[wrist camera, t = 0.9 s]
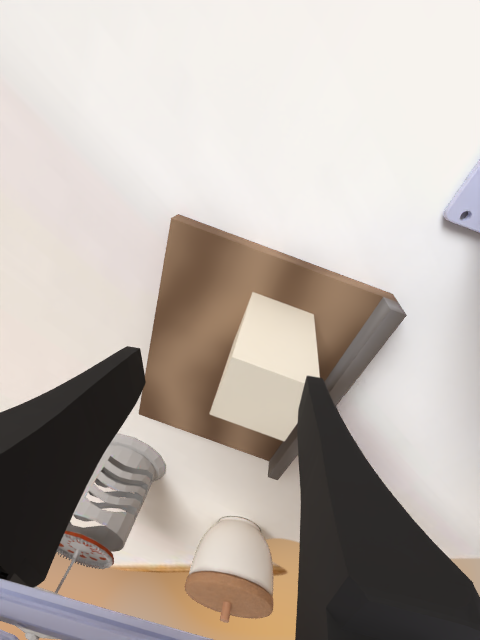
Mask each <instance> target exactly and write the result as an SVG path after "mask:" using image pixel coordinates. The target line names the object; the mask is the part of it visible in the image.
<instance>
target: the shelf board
mask: <svg viewBox="0 0 480 640" xmlns="http://www.w3.org/2000/svg"><path fill="white" fill-rule="evenodd" d="M252 292H254V293H257V294H260V295H263V296H265V297H268V298H271V299H273V300H276V301H279V302H281V303H284V304H287V305H290V306H292V307H295V308H298V309H300V310H303V311H306V312H309V313H311V314H314V321H315V332H316V342H317V353H318V363H319V374H320V378H322V379H323V380H324V382H325V384H326V387H327V389H328V391H329V394H330V396H331V398H332V400H333V402H334V404H335V406H336V405H337V404H338V402H339V401H340V400H341V399H342V397H343V396H344V395H345V394H346V393H347V391H348V390H349V389H350V387H351V386H352V385H353V384H354V382H355V381H356V380H357V379H358V377H359V376H360V375H361V373H362V372H363V371H364V370H365V368H366V367H367V365H368V364H369V363H370V361H371V360H372V359H373V358H374V356H375V355H376V354H377V353H378V351H379V350H380V349H381V347H382V346H383V345H384V344H385V342H386V341H387V340H388V338H389V337H390V336H391V335H392V333H393V332H394V331H395V330H396V328H397V327H398V326H399V324H400V323H401V322H402V321H403V319H404V318H405V317H406V314H405V312H404V311H403V309H402V308H401V306H400V304H399V303H398V301H397V300H396V298H395V297H394V295H393V294H391V293H388V292H386V291H383V290H380V289H378V288H375V287H372V286H370V285H367V284H364V283H362V282H359V281H356V280H354V279H351V278H348V277H345V276H343V275H340V274H337V273H335V272H332V271H329V270H327V269H324V268H321V267H319V266H316V265H313V264H311V263H308V262H305V261H302V260H300V259H297V258H294V257H292V256H289V255H286V254H284V253H281V252H278V251H276V250H273V249H270V248H268V247H265V246H262V245H260V244H257V243H254V242H251V241H249V240H246V239H243V238H241V237H238V236H235V235H233V234H230V233H227V232H225V231H222V230H219V229H217V228H214V227H211V226H209V225H206V224H203V223H200V222H198V221H195V220H192V219H190V218H187V217H184V216H182V215H179V214H178V215H176V216H174V217H172V218H171V223H170V229H169V235H168V241H167V247H166V253H165V259H164V265H163V271H162V277H161V283H160V289H159V295H158V301H157V307H156V313H155V319H154V325H153V331H152V337H151V343H150V349H149V355H148V361H147V367H146V373H145V381H146V383H145V386H144V388H143V391H142V397H141V403H140V409H139V414H140V415H143V416H145V417H148V418H151V419H154V420H156V421H159V422H162V423H165V424H168V425H170V426H173V427H176V428H179V429H181V430H184V431H187V432H190V433H193V434H195V435H198V436H201V437H204V438H206V439H209V440H212V441H215V442H218V443H220V444H223V445H226V446H229V447H231V448H234V449H237V450H240V451H242V452H245V453H248V454H251V455H254V456H256V457H259V458H262V459H265V460H267V461H269V470H268V477H270V478H273V479H276V480H278V479H279V478H280V476H281V475H282V474H283V473H284V471H285V470H286V469H287V468H288V466H289V465H290V464H291V462H292V461H293V460H294V459H295V457H296V456H297V455H298V440H297V425H298V423H297V424H296V426H295V427H294V429H293V430H292V432H291V433H290V434H289V436H288V437H287V439H286V440H285V441H282V440H279V439H276V438H273V437H271V436H268V435H265V434H262V433H260V432H257V431H254V430H251V429H249V428H246V427H243V426H240V425H238V424H235V423H232V422H229V421H226V420H224V419H221V418H218V417H215V416H213V415H210V411H211V408H212V405H213V402H214V399H215V396H216V393H217V390H218V387H219V384H220V381H221V378H222V375H223V372H224V369H225V366H226V363H227V360H228V357H229V354H230V351H231V348H232V345H233V342H234V339H235V337H236V334H237V332H238V329H239V326H240V324H241V321H242V318H243V316H244V313H245V311H246V308H247V305H248V303H249V300H250V298H251V295H252Z"/></svg>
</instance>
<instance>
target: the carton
mask: <svg viewBox="0 0 480 640" xmlns="http://www.w3.org/2000/svg"><path fill="white" fill-rule="evenodd" d="M306 376H313V377H319V378H320V374H319V363H318V353H317V342H316V332H315V321H314V314H311V313H309V312H306V311H303V310H300V309H298V308H295V307H292V306H290V305H287V304H284V303H281V302H279V301H276V300H273V299H271V298H268V297H265V296H263V295H260V294H257V293H254V292H252V295H251V298H250V300H249V303H248V305H247V308H246V311H245V313H244V316H243V318H242V321H241V324H240V326H239V329H238V332H237V334H236V337H235V339H234V342H233V345H232V348H231V351H230V354H229V357H228V360H227V363H226V366H225V369H224V372H223V375H222V378H221V381H220V384H219V387H218V390H217V393H216V396H215V399H214V402H213V405H212V408H211V411H210V415H213V416H215V417H218V418H221V419H224V420H226V421H229V422H232V423H235V424H238V425H240V426H243V427H246V428H249V429H251V430H254V431H257V432H260V433H262V434H265V435H268V436H271V437H273V438H276V439H279V440H282V441H285V440H286V439H287V437H288V436H289V434H290V433H291V432H292V430H293V429H294V427H295V426H296V424H297V423H298V409H299V405H300V401H301V397H302V392H303V388H304V384H305V380H306Z"/></svg>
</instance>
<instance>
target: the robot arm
mask: <svg viewBox="0 0 480 640" xmlns="http://www.w3.org/2000/svg"><path fill="white" fill-rule="evenodd" d="M465 211H468V215H467V217H466V218H464V219H462V220H460V216H461V214H462V213H463V212H465ZM444 218H445V219H446V220H448V221H450V222H452V223H455V224H457V225H460V226H463V227H465V228H468V229H471V230H473V231H476V232H479V233H480V160H479V161H478V163H477V164H476V165H475V167H474V168H473V170H472V171H471V173H470V174H469V176H468V177H467V178H466V180H465V181H464V183H463V184H462V186H461V187H460V188H459V190H458V191H457V193H456V194H455V196H454V197H453V199H452V200H451V201H450V203H449V204H448V206H447V207H446V209H445V211H444ZM145 383H146V381H145V375H144V369H143V363H142V357H141V351H140V348H134V347H128V346H127V347H125V348H123V349H121V350H120V351H118V352H116V353H115V354H113V355H111V356H110V357H108V358H106V359H105V360H103V361H102V362H100V363H98V364H97V365H95V366H93V367H92V368H90V369H88V370H87V371H85V372H83V373H81V374H80V375H78V376H76V377H74V378H72V379H71V380H69V381H67V382H65V383H63V384H62V385H60V386H58V387H56V388H54V389H52V390H50V391H48V392H46V393H44V394H42V395H40V396H38V397H36V398H34V399H32V400H29V401H27V402H25V403H23V404H21V405H18V406H16V407H13V408H11V409H8V410H6V411H3V412H1V413H0V621H3V622H6V623H9V624H12V625H16V626H19V627H22V628H25V629H29V630H32V631H35V632H38V633H42V634H45V635H48V636H51V637H55V638H58V639H61V640H213V639H209V638H206V637H202V636H199V635H196V634H192V633H189V632H185V631H182V630H178V629H175V628H171V627H168V626H164V625H161V624H157V623H153V622H150V621H147V620H143V619H140V618H136V617H133V616H129V615H126V614H122V613H119V612H115V611H112V610H108V609H105V608H101V607H98V606H94V605H90V604H88V603H84V602H80V601H77V600H74V599H70V598H67V597H63V596H60V595H56V594H53V593H49V592H46V591H42V590H39V589H35V588H34V587H36V586H37V585H39V584H40V583H41V582H43V581H44V580H45V578H46V575H47V573H48V570H49V568H50V566H51V563H52V561H53V559H54V556H55V554H56V552H57V549H58V547H59V544H60V542H61V540H62V537H63V535H64V533H65V531H66V529H67V526H68V524H69V522H70V520H71V518H72V515H73V513H74V511H75V509H76V507H77V505H78V503H79V501H80V499H81V497H82V494H83V492H84V490H85V488H86V486H87V484H88V482H89V480H90V478H91V477H92V475H93V473H94V471H95V469H96V467H97V465H98V463H99V461H100V459H101V458H102V456H103V454H104V453H105V451H106V449H107V448H108V446H109V445H110V443H111V441H112V440H113V438H114V437H115V435H116V434H117V432H118V431H119V429H120V428H121V426H122V425H123V423H124V422H125V420H126V418H127V417H128V415H129V414H130V412H131V411H132V409H133V407H134V406H135V404H136V402H137V400H138V398H139V396H140V394H141V392H142V390H143V388H144V386H145ZM297 440H298V457H299V472H300V488H301V520H300V552H299V553H300V554H299V578H298V601H297V620H296V639H295V640H480V597H479V595H478V593H477V591H476V589H475V587H474V585H473V582H472V581H471V580H470V579H469V578H468V577H467V576H466V575H465V574H464V573H463V572H462V571H461V570H460V569H459V568H458V567H457V566H456V565H455V564H454V563H453V562H452V561H451V560H450V559H449V558H448V557H447V556H446V555H445V554H444V553H443V552H442V550H441V549H440V548H439V547H438V546H437V545H436V544H435V543H434V542H433V541H432V540H431V539H430V538H429V537H428V536H427V535H426V533H425V532H424V531H423V530H422V529H421V528H420V527H419V526H418V524H417V523H416V522H415V521H414V520H413V519H412V518H411V516H410V515H409V514H408V513H407V512H406V510H405V509H404V508H403V507H402V505H401V504H400V503H399V502H398V501H397V499H396V498H395V497H394V496H393V495H392V493H391V492H390V491H389V490H388V488H387V487H386V486H385V484H384V483H383V482H382V480H381V479H380V478H379V476H378V475H377V474H376V472H375V471H374V469H373V468H372V467H371V465H370V464H369V462H368V461H367V459H366V458H365V456H364V455H363V453H362V452H361V450H360V449H359V447H358V446H357V444H356V442H355V441H354V439H353V437H352V436H351V434H350V432H349V431H348V429H347V427H346V425H345V423H344V421H343V420H342V418H341V416H340V414H339V412H338V410H337V408H336V406H335V404H334V402H333V400H332V398H331V396H330V394H329V391H328V389H327V387H326V384H325V382H324V380H323V379H322V378H319V377H313V376H306V380H305V384H304V388H303V392H302V397H301V401H300V405H299V409H298V425H297ZM0 640H19V639H18V638H17V637H16V636H15V635H13V634H10V633H7V632H5V631H3V630H0Z"/></svg>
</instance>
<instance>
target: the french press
mask: <svg viewBox="0 0 480 640" xmlns="http://www.w3.org/2000/svg"><path fill="white" fill-rule="evenodd" d="M165 471H166V464H165V463H164V461H163V459H162V457H161V456H160V454H158V453H157V452H156V451H155V450H154V449H153V448H152V447H150V446H149V445H147V444H146V443H144V442H142V441H140V440H138V439H136V438H133V437H130V436H126V435H122V434H116V435H115V437H114V438H113V440H112V441H111V443H110V445H109V446H108V448H107V449H106V451H105V453H104V454H103V456H102V458H101V459H100V461H99V463H98V465H97V467H96V469H95V471H94V473H93V475H92V477H91V478H90V480H89V482H88V484H87V486H86V488H85V490H84V492H83V494H82V497H81V499H80V501H79V503H78V505H77V507H76V509H75V511H74V513H73V515H74V516H75V518H76V519H79V520H82V521H96V522H98V523H100V524H102V525H104V526H94V527H86V528H82V527H77V526H73V525H72V524H71V523H70V522H69V524H68V526H67V529H66V531H65V533H64V535H63V537H62V540H61V542H60V544H59V547H58V549H57V552H58V554H59V553H60V554H61V555H64V556H65V557H66V559H67V558H69V560H70V559H72V562H71V564H70V566H69V568H68V569H67V571H66V573H65V575H64V577H63V578H62V580H61V582H60V584H59V586H58V588H57V589H56V591H55V593H54V592H52V591H49V590H45V589H42V588H39V587H34V588H35V589H39V590H42V591H46V592H49V593H53V594H56V595H59V594H57V593H58V591H59V589H60V587H61V585H62V583H63V582H64V580H65V578H66V576H67V574H68V572H69V570H70V569H71V567H72V565H73V563H74V561H76V562H79V563H80V564H81V563H82V564H83V565H84V566H85V565H86V566H87V567H88V566H89V567H92V568H93V567H94V568H99V569H104V568H109V567H110V566H111V565H113V564H114V558H113V554H112V553H111V551H113V552H114V551H120V550H121V549H122V548H123V547H124V545H125V542H126V540H127V538H128V536H129V533H130V531H131V529H132V527H133V524H134V522H135V520H136V518H137V515H138V513H139V511H140V508H141V506H142V504H143V502H144V499H145V497H146V495H147V493H148V490H149V488H150V486H151V484H152V482H153V481H156V480H158V479H160V478H161V477H162V476H163V475H164V474H165ZM94 482H95V483H96V484H97V485H100V486H102V487H110V488H111V489H114V490H118V491H114V492H103V491H102V490H100V489H99V488H98V487H97V486H96V485H95V484H94ZM88 492H89V494H90V495H92V496H95V497H97V498H99V499H101V500H102V501H104V502H105V503H95V502H92V501H89V500H88V499H87V498H86V495H87V493H88ZM130 492H134V493H130ZM119 497H126V498H119ZM103 508H120V509H123V510H125V511H126V512H111V511H106V510H102V509H103ZM64 556H63V557H64ZM76 562H75V563H76ZM79 563H78V564H79ZM82 564H81V565H82ZM95 566H96V567H95ZM60 596H61V595H60ZM63 597H64V596H63ZM15 626H16V625H15ZM16 627H18V628H19V629H21V630H22V631H23V632H24V633H26V634H25V637H26V639H28V640H38V639H39V638H49V639H58V638H55V637H51V636H48V635H45V634H42V633H38V632H35V631H32V630H29V629H25V628H22V627H19V626H16Z"/></svg>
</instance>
